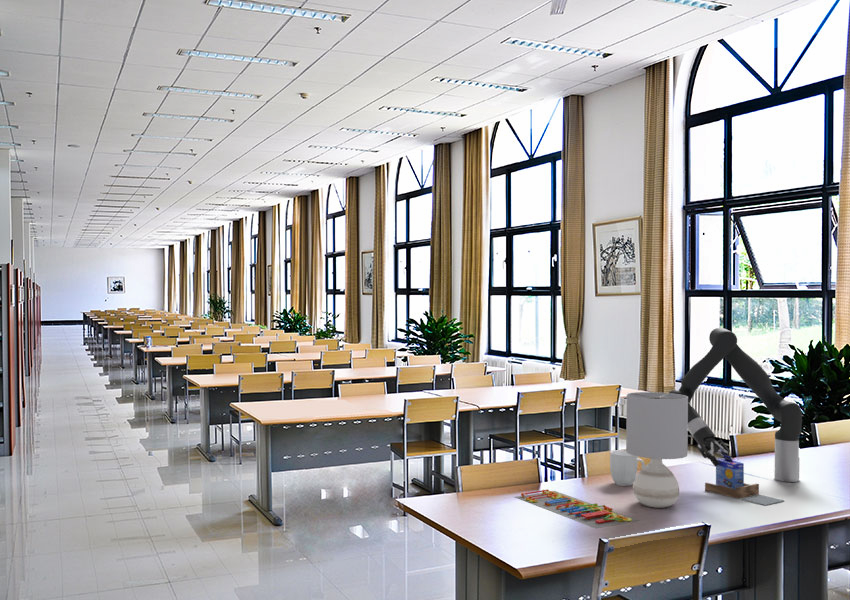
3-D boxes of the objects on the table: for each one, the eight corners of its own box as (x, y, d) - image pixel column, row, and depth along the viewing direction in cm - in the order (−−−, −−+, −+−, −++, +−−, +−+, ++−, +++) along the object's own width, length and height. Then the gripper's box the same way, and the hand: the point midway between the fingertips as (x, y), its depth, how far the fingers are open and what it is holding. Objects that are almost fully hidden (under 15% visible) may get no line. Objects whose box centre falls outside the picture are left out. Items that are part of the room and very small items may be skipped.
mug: (637, 480, 321) (638, 449, 321) (651, 486, 310) (651, 454, 310) (605, 481, 318) (605, 450, 318) (617, 488, 307) (617, 455, 307)
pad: (760, 495, 297) (760, 494, 297) (784, 501, 289) (784, 500, 289) (741, 499, 291) (741, 498, 291) (765, 505, 282) (765, 504, 282)
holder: (725, 486, 312) (725, 476, 312) (758, 494, 299) (758, 484, 299) (705, 490, 305) (705, 480, 305) (738, 498, 292) (738, 488, 292)
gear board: (638, 514, 262) (596, 522, 252) (638, 522, 262) (596, 530, 252) (554, 486, 301) (514, 492, 292) (554, 492, 301) (514, 498, 292)
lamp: (644, 494, 298) (645, 390, 298) (697, 505, 282) (698, 396, 282) (614, 504, 282) (615, 395, 282) (668, 516, 267) (669, 401, 267)
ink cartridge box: (714, 489, 306) (715, 453, 306) (724, 488, 309) (725, 452, 309) (734, 495, 297) (734, 458, 297) (744, 494, 300) (744, 457, 300)
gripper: (694, 427, 309) (719, 460, 299) (717, 424, 316) (741, 456, 307) (683, 438, 313) (707, 471, 303) (705, 435, 321) (729, 467, 311)
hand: (724, 464), depth 305 cm, fingers open, 8 cm apart
